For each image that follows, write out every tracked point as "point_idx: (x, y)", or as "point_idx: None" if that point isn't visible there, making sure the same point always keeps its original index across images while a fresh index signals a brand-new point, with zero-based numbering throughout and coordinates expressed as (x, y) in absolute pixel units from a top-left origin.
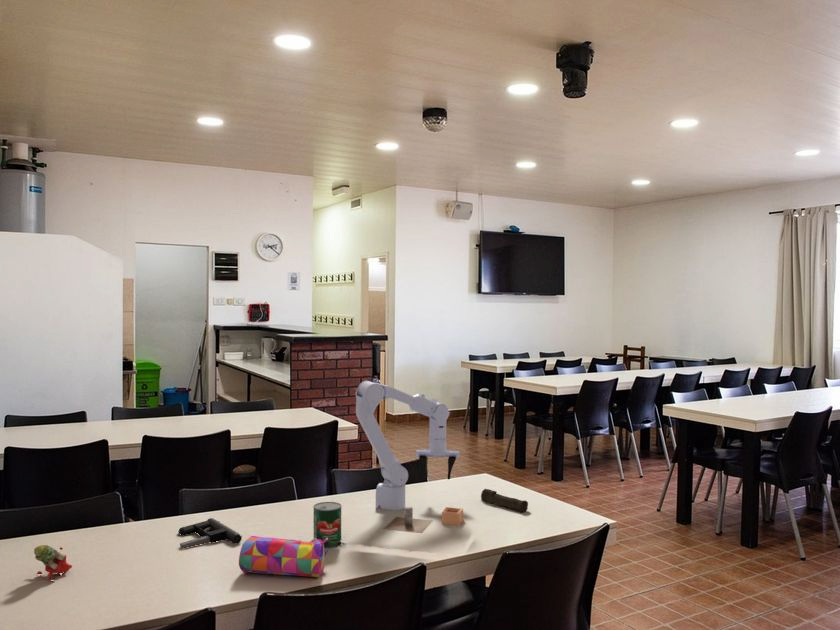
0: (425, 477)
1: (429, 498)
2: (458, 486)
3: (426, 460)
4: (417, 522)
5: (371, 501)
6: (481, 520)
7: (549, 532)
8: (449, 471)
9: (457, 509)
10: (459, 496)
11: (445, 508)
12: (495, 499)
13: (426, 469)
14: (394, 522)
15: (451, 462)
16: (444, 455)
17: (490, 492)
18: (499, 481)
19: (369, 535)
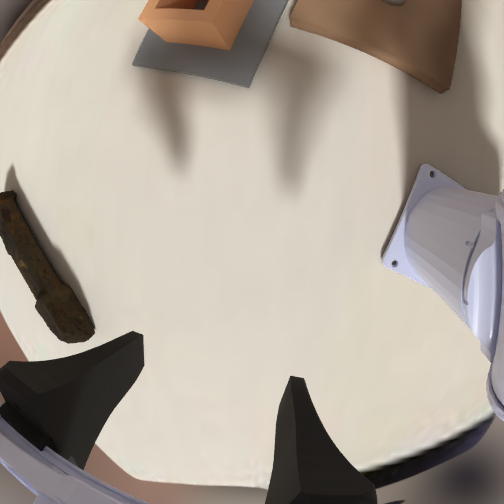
0: (301, 382)
1: (269, 386)
2: (173, 450)
3: (284, 498)
4: (358, 4)
5: (472, 357)
6: (101, 99)
7: (13, 55)
8: (99, 353)
9: (164, 9)
10: (162, 384)
11: (219, 4)
12: (45, 275)
13: (291, 428)
14: (444, 28)
15: (28, 372)
16: (64, 474)
17: (45, 302)
18: None
19: (484, 7)
